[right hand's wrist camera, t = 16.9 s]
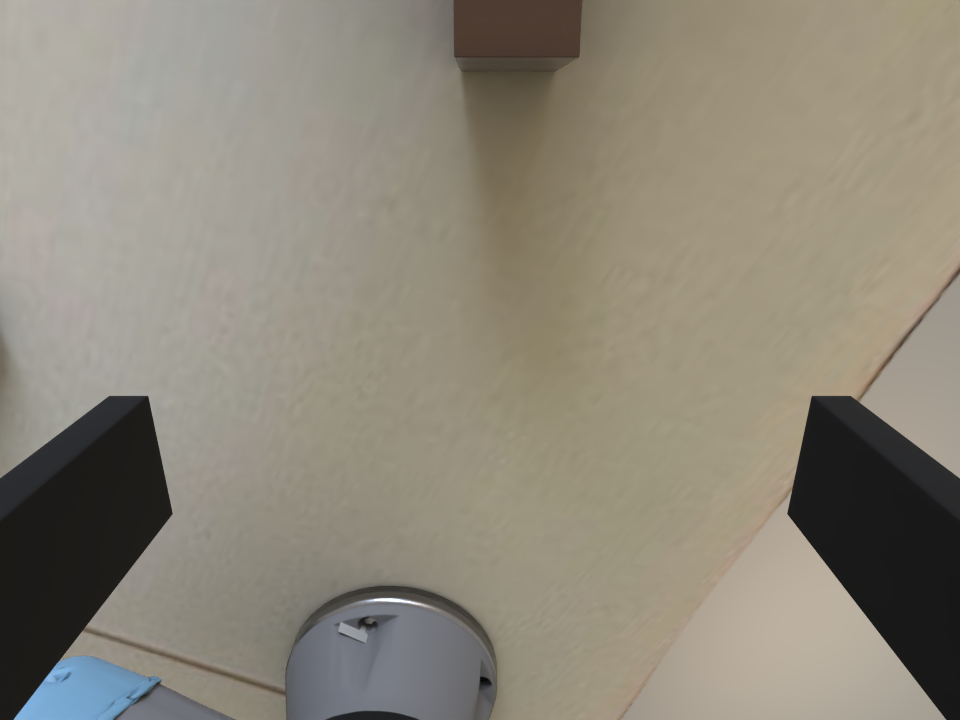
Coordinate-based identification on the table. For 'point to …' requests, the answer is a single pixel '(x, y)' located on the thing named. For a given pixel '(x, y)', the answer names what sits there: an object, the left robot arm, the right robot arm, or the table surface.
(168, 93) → the table surface
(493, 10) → the walnut beam
